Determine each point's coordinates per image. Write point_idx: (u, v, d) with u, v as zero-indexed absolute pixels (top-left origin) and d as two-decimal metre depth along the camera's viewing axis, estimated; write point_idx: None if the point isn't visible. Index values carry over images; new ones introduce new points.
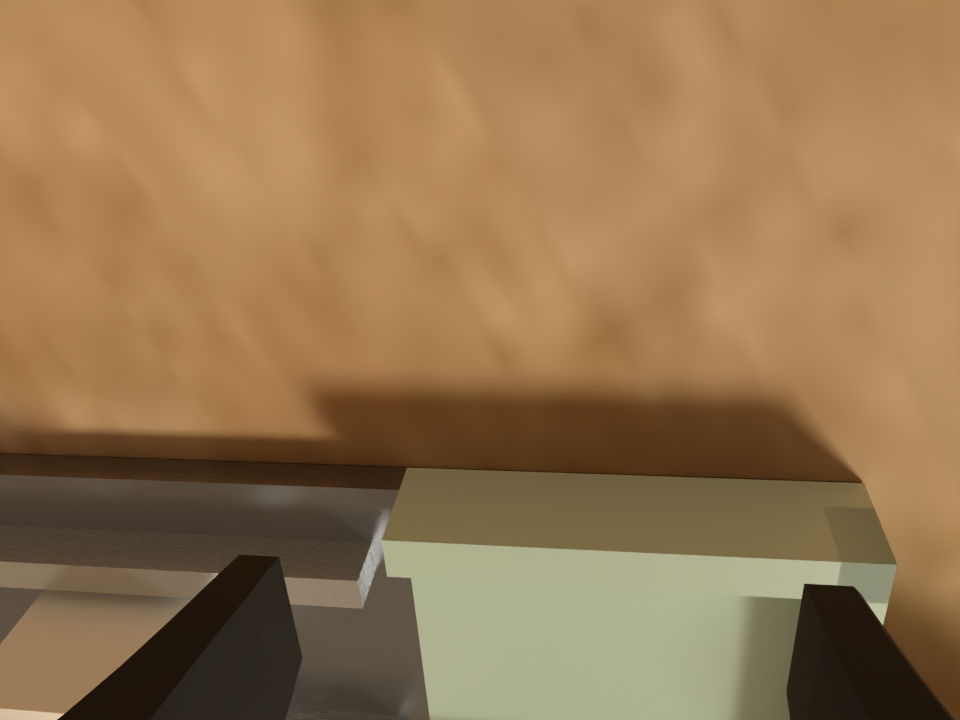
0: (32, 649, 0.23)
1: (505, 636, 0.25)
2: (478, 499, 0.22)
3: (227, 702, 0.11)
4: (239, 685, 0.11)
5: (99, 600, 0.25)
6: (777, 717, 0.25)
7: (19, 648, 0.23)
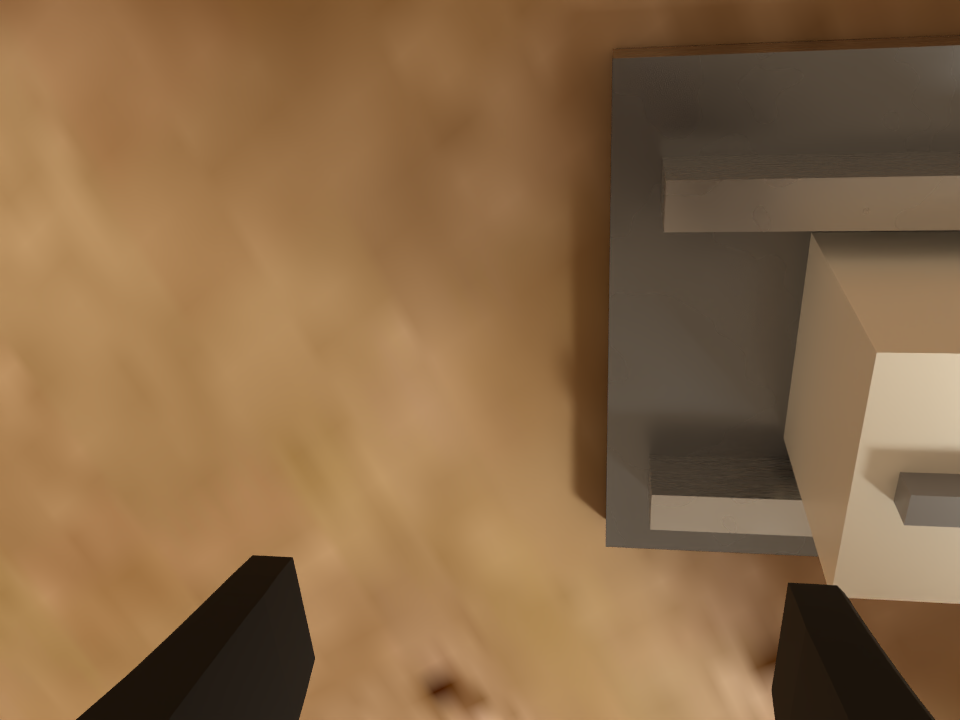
0: (913, 299, 0.14)
1: None
2: None
3: (242, 703, 0.10)
4: (254, 686, 0.11)
5: (935, 255, 0.16)
6: None
7: (887, 299, 0.14)
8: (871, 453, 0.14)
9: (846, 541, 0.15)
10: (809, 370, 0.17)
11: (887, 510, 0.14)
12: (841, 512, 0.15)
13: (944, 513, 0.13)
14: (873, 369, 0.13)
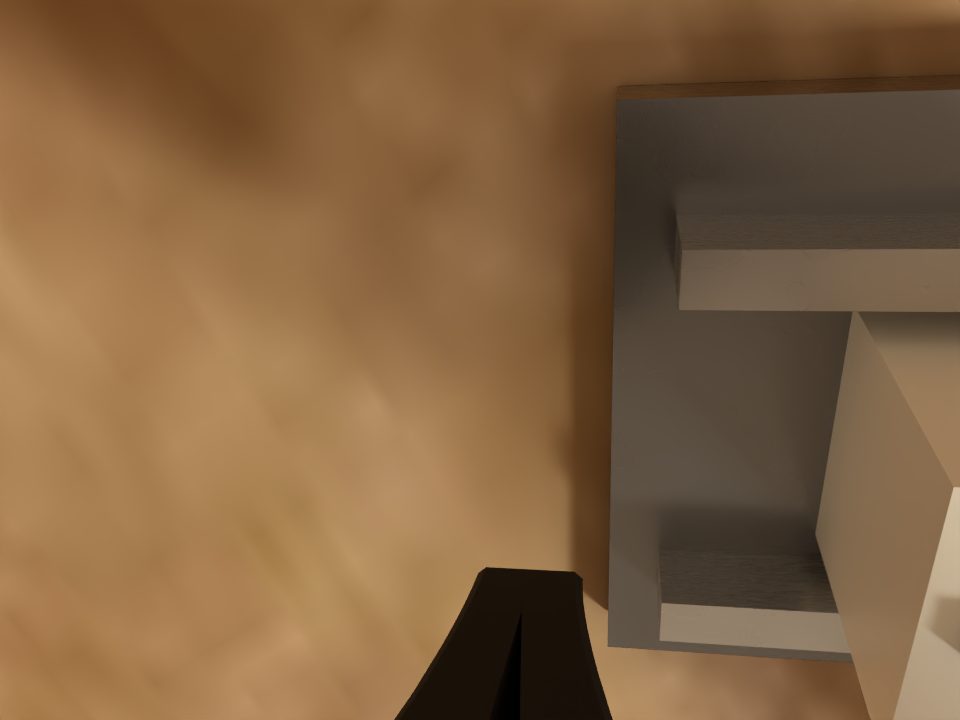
0: None
1: None
2: None
3: None
4: (514, 706, 0.10)
5: None
6: None
7: (957, 403, 0.12)
8: (940, 603, 0.11)
9: (904, 700, 0.12)
10: (851, 469, 0.14)
11: (957, 667, 0.11)
12: (899, 664, 0.12)
13: None
14: (947, 507, 0.10)
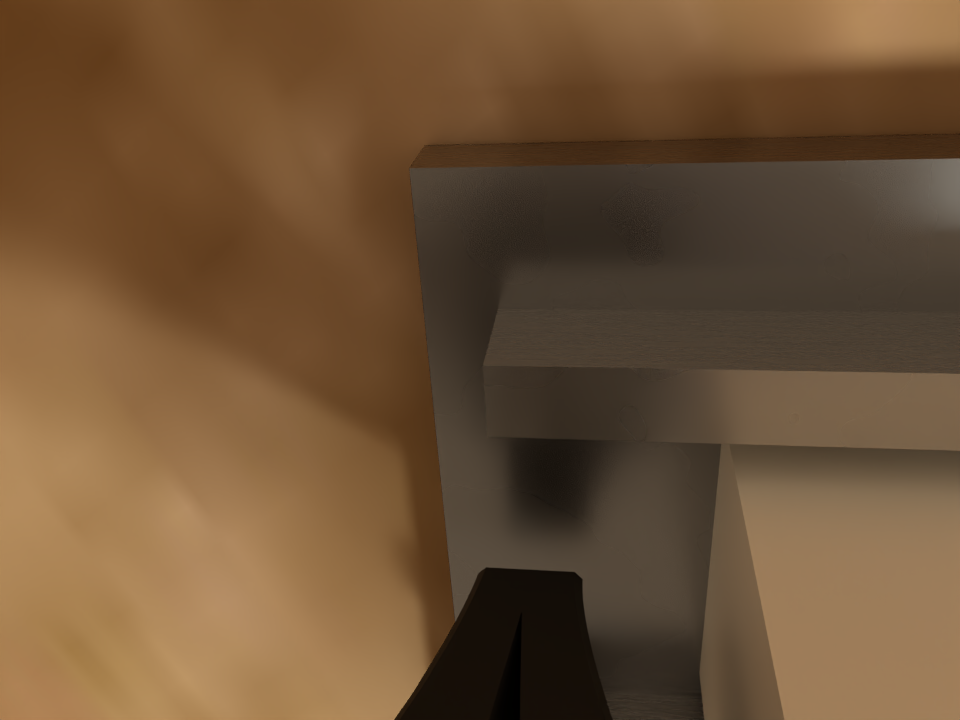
0: (862, 587, 0.09)
1: None
2: None
3: None
4: (514, 706, 0.10)
5: (905, 477, 0.10)
6: None
7: (821, 584, 0.09)
8: None
9: None
10: (720, 621, 0.12)
11: None
12: None
13: None
14: None
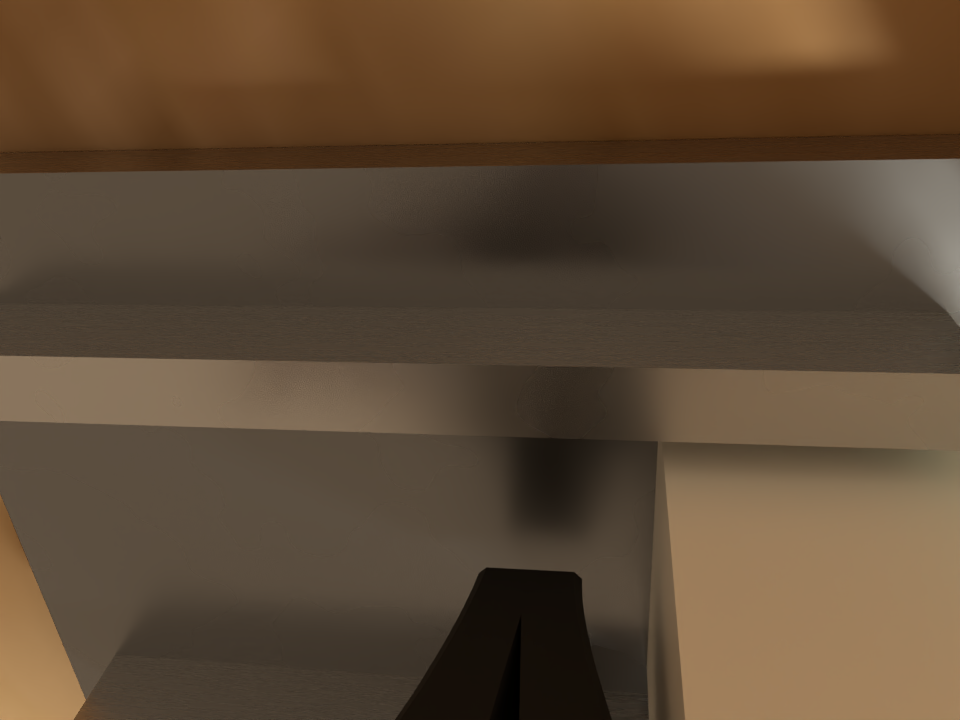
0: (776, 575, 0.09)
1: None
2: None
3: None
4: (515, 706, 0.10)
5: (831, 468, 0.10)
6: None
7: (736, 573, 0.09)
8: None
9: None
10: (656, 613, 0.12)
11: None
12: None
13: None
14: None
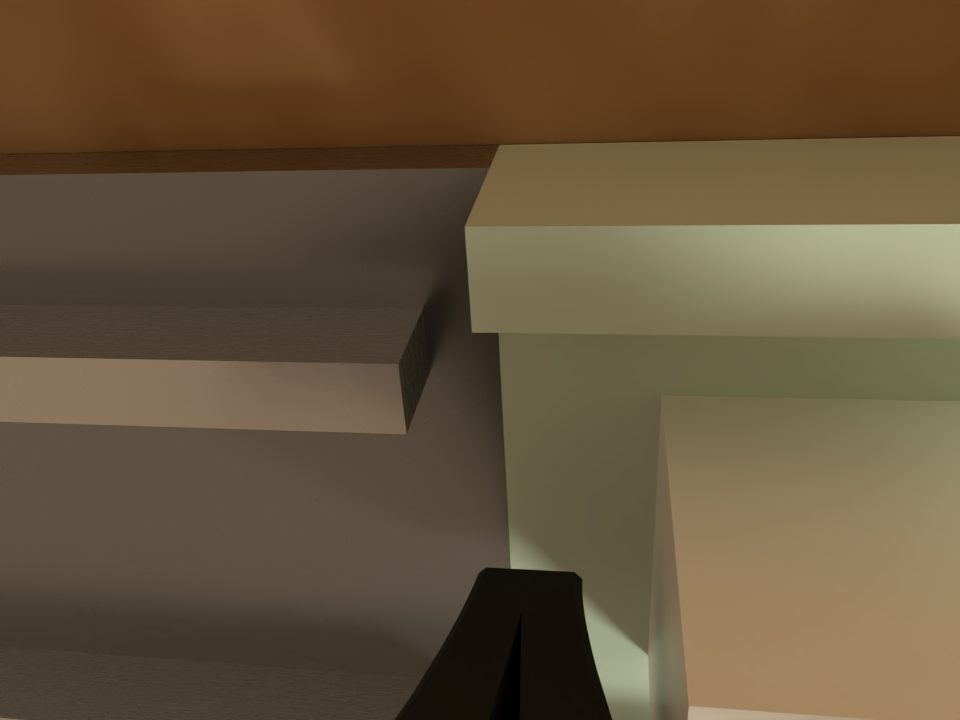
0: (780, 558, 0.09)
1: None
2: (674, 171, 0.10)
3: None
4: (514, 706, 0.10)
5: (834, 453, 0.10)
6: None
7: (739, 556, 0.09)
8: None
9: None
10: (658, 600, 0.12)
11: None
12: None
13: None
14: None
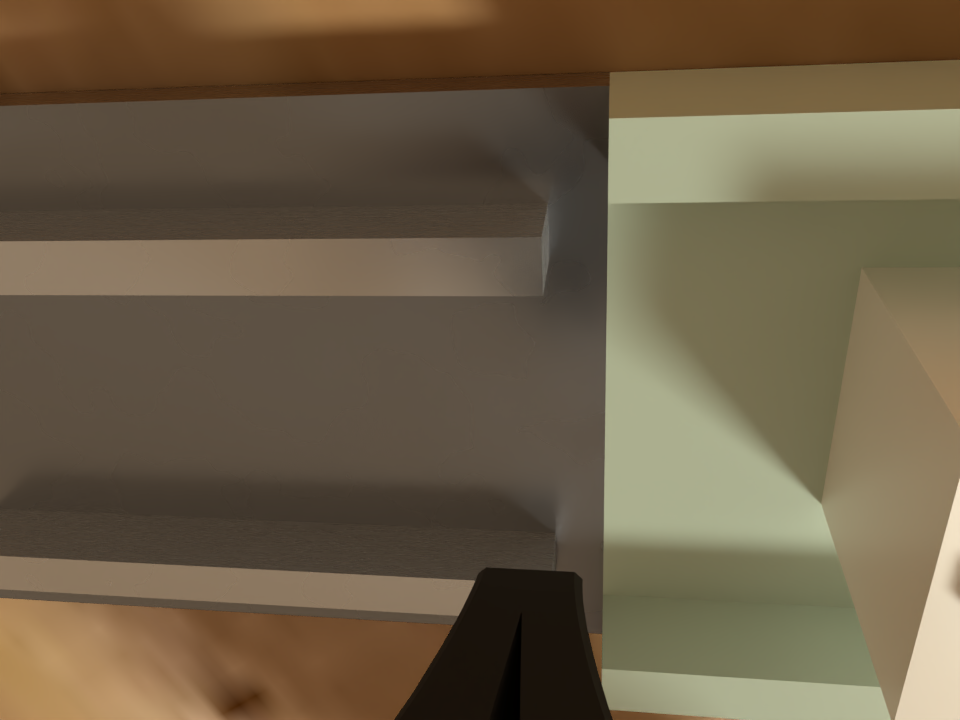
0: None
1: (751, 378, 0.15)
2: (756, 84, 0.13)
3: None
4: (514, 706, 0.10)
5: None
6: None
7: None
8: (954, 563, 0.11)
9: (916, 663, 0.12)
10: (859, 434, 0.14)
11: None
12: (910, 628, 0.12)
13: None
14: None
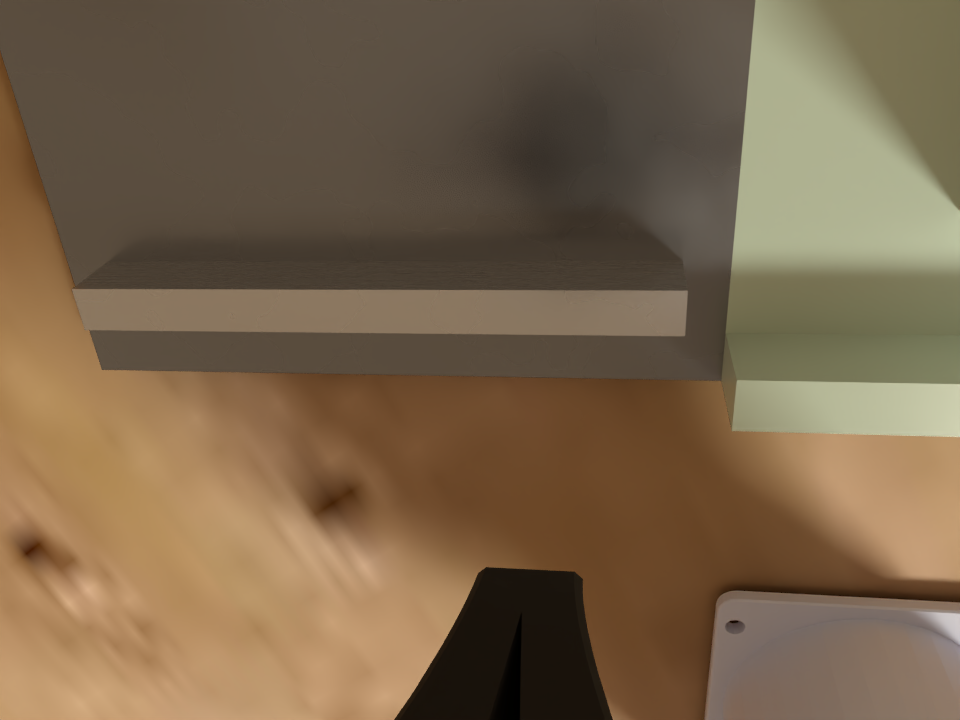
0: None
1: (899, 61, 0.15)
2: None
3: None
4: (514, 706, 0.10)
5: None
6: None
7: None
8: None
9: None
10: None
11: None
12: None
13: None
14: None
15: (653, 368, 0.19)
